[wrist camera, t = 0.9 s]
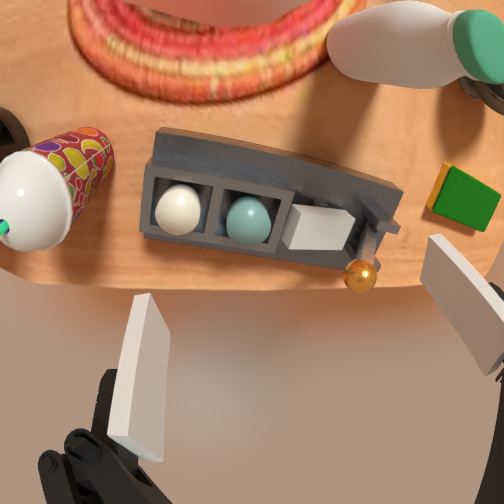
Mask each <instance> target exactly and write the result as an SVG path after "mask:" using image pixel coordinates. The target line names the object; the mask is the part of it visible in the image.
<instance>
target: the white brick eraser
mask: <svg viewBox="0 0 504 504" xmlns="http://www.w3.org/2000/svg"><path fill="white" fill-rule="evenodd" d="M354 221H355V218H354V217H353V216H351V215H350V214H349V213H348V212H347V211H346V210H340V209H332V208H323V207H315V206H306V205H296V204H292V206H291V209H290V212H289V215H288V218H287V221H286V224H285V227H284V230H283V233H282V236H281V240H282V241H283V242H284V244H285V245H286V246H287V248H288V249H303V250H342V249H343V247H344V244H345V242H346V240H347V238H348V235H349V233H350V231H351V228H352V226H353V224H354Z"/></svg>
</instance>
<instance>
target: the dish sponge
mask: <svg viewBox="0 0 504 504" xmlns="http://www.w3.org/2000/svg"><path fill="white" fill-rule="evenodd" d="M500 198H501V194H499V193H498V192H496V191H495V190H493V189H492V188H490V187H489V186H487V185H485V184H484V183H482V182H481V181H479V180H477V179H476V178H474V177H472V176H471V175H469V174H467V173H465V172H464V171H462V170H460V169H458V168H457V167H455V166H453V165H451V164H449V163H447V162H445V163H443V166H442V168H441V171H440V173H439V176H438V178H437V181H436V183H435V185H434V188H433V190H432V192H431V194H430V197H429V199H428V201H427V203H426V205H427V207H428V208H429V209H430V210H431V211H433V212H434V213H436V214H438V215H441V216H444V217H446V218H449V219H451V220H454V221H457V222H459V223H462V224H464V225H466V226H469V227H471V228H474V229H476V230H478V231H481V232H484V231H485V229H486V227H487V225H488V223H489V221H490V219H491V217H492V215H493V213H494V211H495V209H496V207H497V205H498V202H499V200H500Z"/></svg>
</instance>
